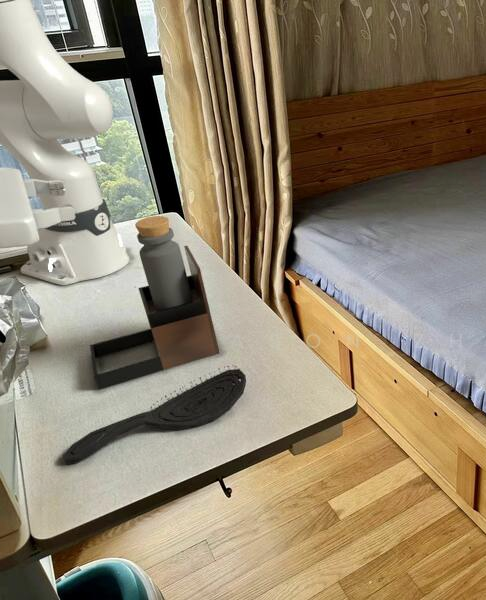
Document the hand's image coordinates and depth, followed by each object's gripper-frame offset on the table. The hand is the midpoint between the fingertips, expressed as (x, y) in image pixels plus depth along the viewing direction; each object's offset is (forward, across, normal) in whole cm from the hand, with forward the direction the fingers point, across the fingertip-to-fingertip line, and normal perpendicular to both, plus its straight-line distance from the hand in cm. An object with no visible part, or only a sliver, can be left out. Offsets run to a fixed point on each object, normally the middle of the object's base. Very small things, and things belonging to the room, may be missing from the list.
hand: (68, 199), depth 76 cm
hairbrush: (+4, -22, +26) cm, 34 cm away
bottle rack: (+8, -4, +27) cm, 28 cm away
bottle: (+12, -4, +19) cm, 22 cm away
